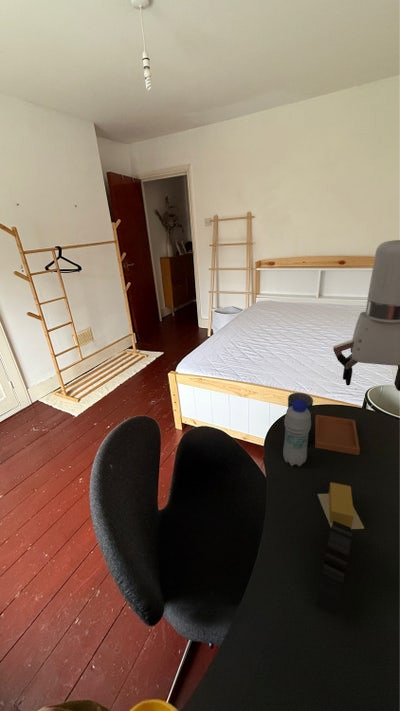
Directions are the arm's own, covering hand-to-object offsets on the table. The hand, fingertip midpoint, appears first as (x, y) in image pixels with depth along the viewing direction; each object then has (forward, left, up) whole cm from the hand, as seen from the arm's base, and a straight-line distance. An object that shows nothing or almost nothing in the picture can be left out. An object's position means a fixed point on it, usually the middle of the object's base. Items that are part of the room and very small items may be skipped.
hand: (371, 384), depth 65 cm
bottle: (+13, -7, -28) cm, 32 cm away
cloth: (+7, +9, -28) cm, 31 cm away
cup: (+10, -15, -28) cm, 34 cm away
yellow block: (+7, +9, -28) cm, 30 cm away
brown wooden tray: (-2, -16, -28) cm, 33 cm away
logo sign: (+13, +22, -28) cm, 38 cm away
